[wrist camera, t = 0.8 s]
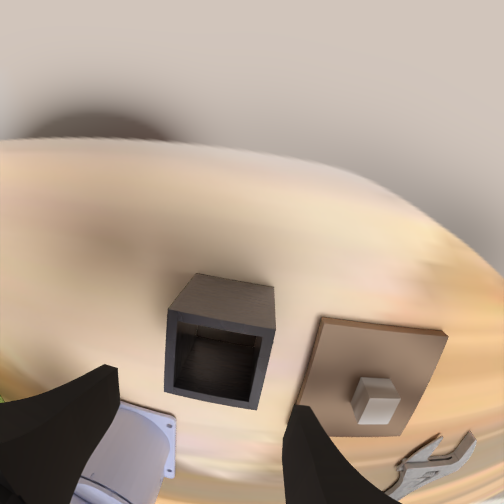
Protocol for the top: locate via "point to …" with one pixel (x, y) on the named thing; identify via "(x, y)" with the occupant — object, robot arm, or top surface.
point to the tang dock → (368, 376)
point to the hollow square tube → (217, 352)
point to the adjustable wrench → (430, 466)
